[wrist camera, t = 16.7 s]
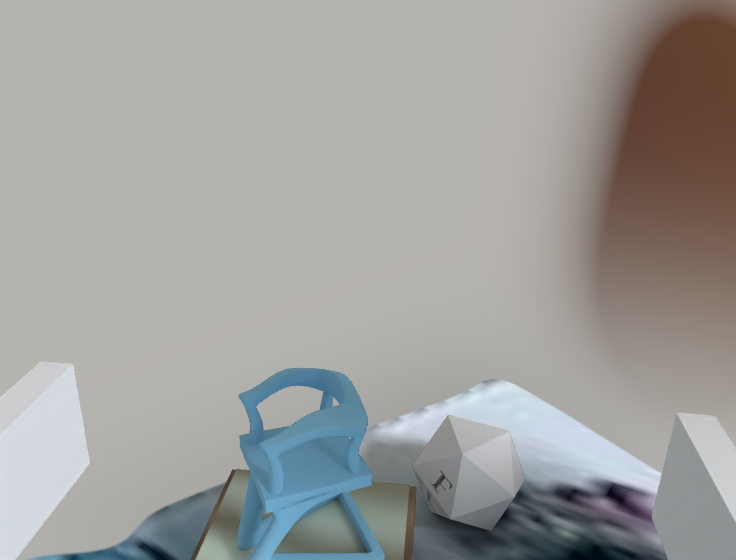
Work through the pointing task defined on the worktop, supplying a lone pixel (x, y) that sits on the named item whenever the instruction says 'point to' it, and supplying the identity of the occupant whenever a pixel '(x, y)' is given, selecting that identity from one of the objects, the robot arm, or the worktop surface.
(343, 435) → the chair
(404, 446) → the worktop surface
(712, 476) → the robot arm
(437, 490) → the die
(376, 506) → the base block
